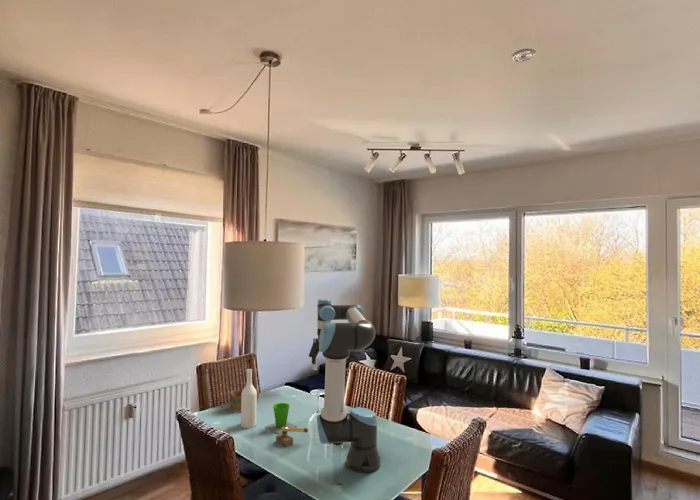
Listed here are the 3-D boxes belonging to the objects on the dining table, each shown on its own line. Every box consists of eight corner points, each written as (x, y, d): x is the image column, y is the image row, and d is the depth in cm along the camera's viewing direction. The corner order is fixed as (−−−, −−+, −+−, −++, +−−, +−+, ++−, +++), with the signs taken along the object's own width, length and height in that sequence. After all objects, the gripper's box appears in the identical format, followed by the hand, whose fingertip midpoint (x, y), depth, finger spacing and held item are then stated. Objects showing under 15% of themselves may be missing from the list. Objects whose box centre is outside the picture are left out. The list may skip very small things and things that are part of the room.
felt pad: (296, 426, 209) (296, 426, 209) (279, 434, 200) (279, 433, 200) (282, 420, 217) (282, 419, 217) (264, 427, 208) (264, 426, 208)
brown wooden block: (293, 443, 190) (293, 434, 190) (286, 446, 187) (286, 437, 187) (282, 438, 196) (282, 429, 196) (276, 441, 192) (276, 432, 193)
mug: (256, 413, 227) (256, 392, 227) (225, 412, 227) (226, 392, 228) (260, 405, 239) (261, 385, 239) (232, 405, 239) (232, 385, 239)
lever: (281, 432, 191) (281, 428, 191) (282, 430, 194) (282, 425, 194) (307, 433, 190) (307, 429, 190) (308, 431, 193) (308, 426, 193)
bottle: (245, 429, 205) (246, 372, 206) (238, 424, 211) (239, 369, 212) (259, 425, 211) (259, 369, 211) (252, 420, 217) (252, 366, 217)
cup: (285, 431, 203) (286, 409, 204) (269, 429, 205) (270, 408, 205) (292, 423, 212) (292, 403, 212) (276, 422, 214) (276, 401, 214)
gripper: (334, 324, 223) (334, 361, 223) (302, 330, 204) (301, 370, 204) (344, 325, 218) (344, 363, 218) (312, 332, 199) (311, 373, 199)
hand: (323, 367), depth 211 cm, fingers open, 13 cm apart
